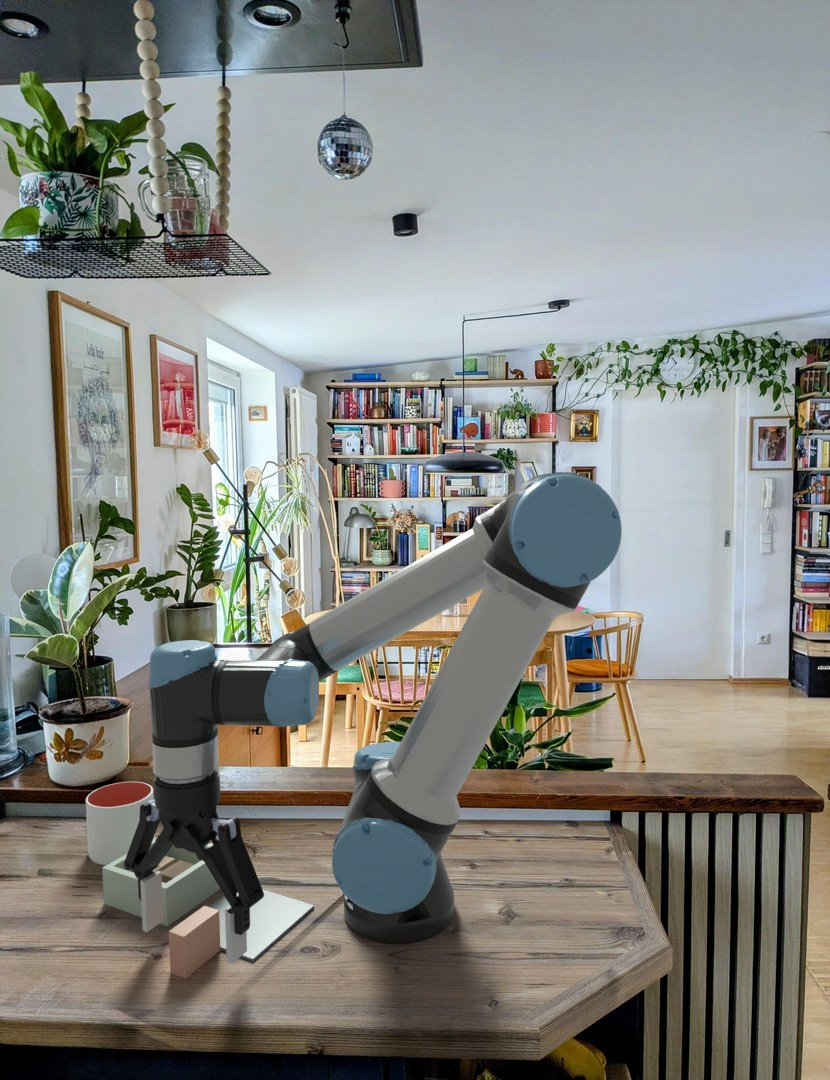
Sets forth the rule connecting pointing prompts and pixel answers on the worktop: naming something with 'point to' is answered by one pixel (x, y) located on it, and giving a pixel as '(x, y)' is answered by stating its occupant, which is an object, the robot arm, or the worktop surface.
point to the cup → (114, 819)
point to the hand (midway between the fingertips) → (193, 940)
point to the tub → (175, 893)
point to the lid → (208, 931)
